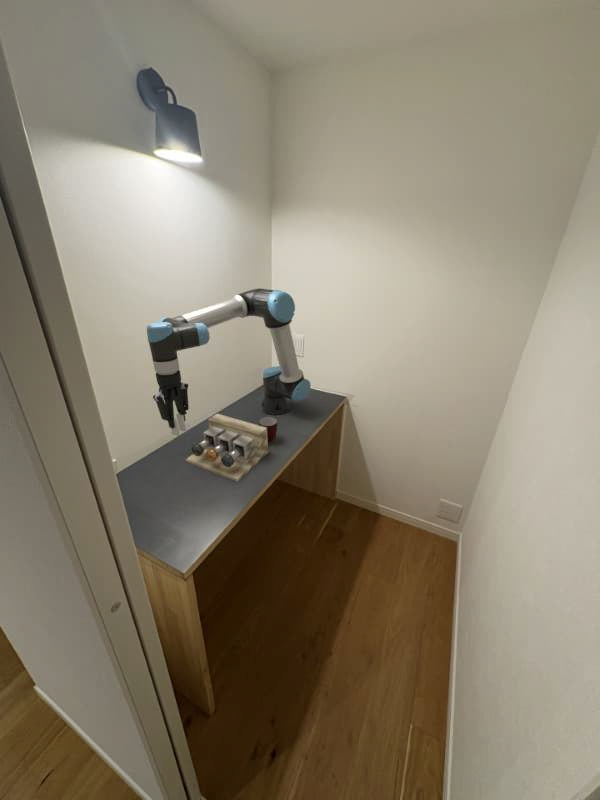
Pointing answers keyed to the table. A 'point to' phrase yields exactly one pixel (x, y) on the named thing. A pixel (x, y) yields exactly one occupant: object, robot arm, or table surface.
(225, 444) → the knob middle
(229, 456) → the knob
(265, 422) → the mug
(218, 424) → the mount
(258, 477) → the table surface
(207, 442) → the knob
